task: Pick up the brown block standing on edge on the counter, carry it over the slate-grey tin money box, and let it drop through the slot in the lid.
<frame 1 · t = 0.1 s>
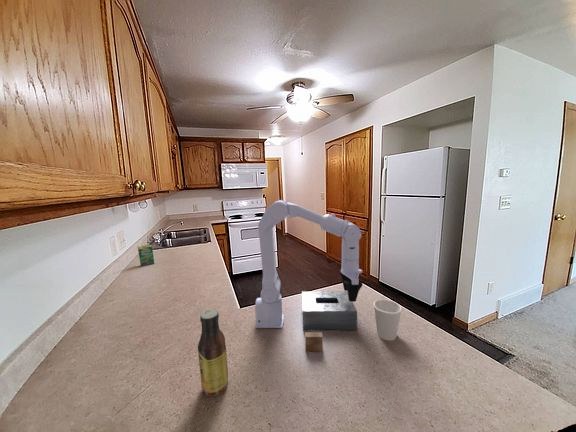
hand: (349, 295, 77), 10 cm above the counter, tool pointing down, fingers open, 7 cm apart
money box: (327, 318, 81), on the counter
dixie cup: (386, 335, 72), on the counter
coffee box: (147, 265, 147), on the counter
brown block: (313, 350, 66), on the counter
sauce bottle: (215, 388, 54), on the counter
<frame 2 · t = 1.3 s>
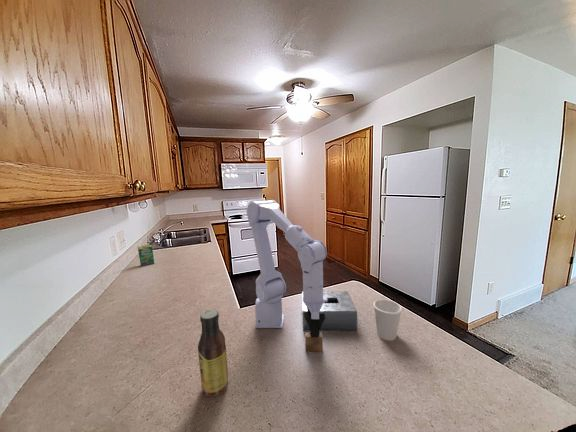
hand: (313, 327, 65), 7 cm above the counter, tool pointing down, fingers open, 7 cm apart
nothing on the counter moved.
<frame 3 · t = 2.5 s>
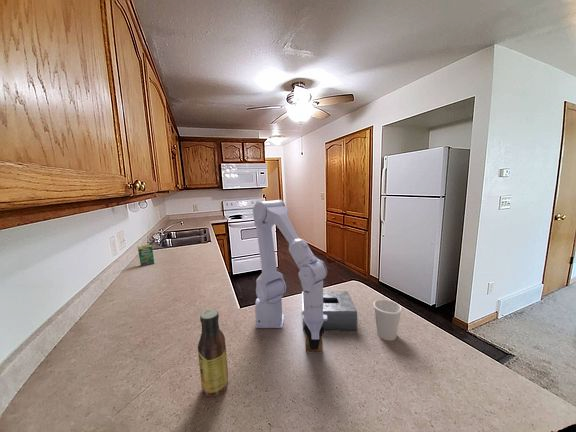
hand: (313, 345, 66), 1 cm above the counter, tool pointing down, fingers closed on brown block, 2 cm apart
brown block: (313, 349, 66), on the counter, touching gripper
everything else where it was.
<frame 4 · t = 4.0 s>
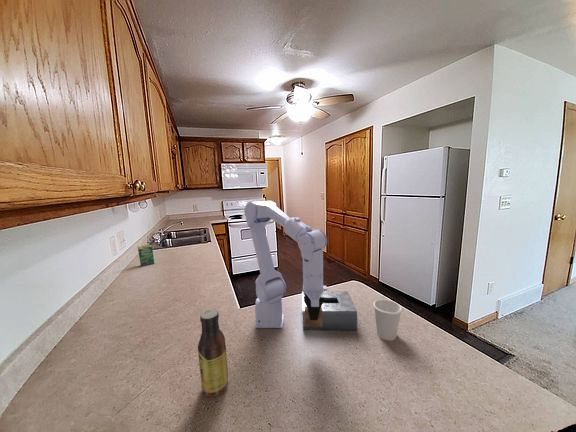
hand: (313, 317, 65), 10 cm above the counter, tool pointing down, fingers closed on brown block
brown block: (313, 324, 65), point 8 cm above the counter, touching gripper
everything else where it was.
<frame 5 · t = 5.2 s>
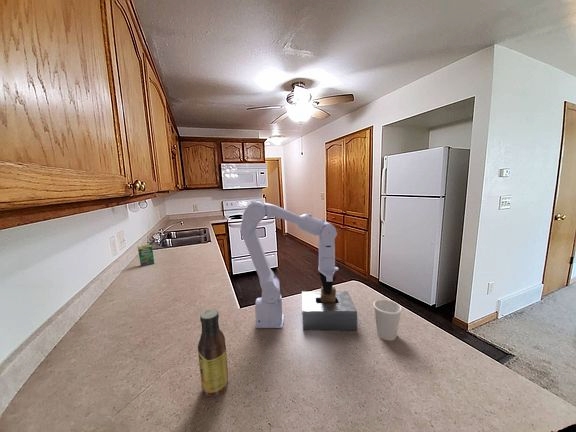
hand: (326, 292, 80), 10 cm above the counter, tool pointing down, fingers closed on brown block
brown block: (327, 301, 80), point 7 cm above the counter, touching gripper
everything else where it was.
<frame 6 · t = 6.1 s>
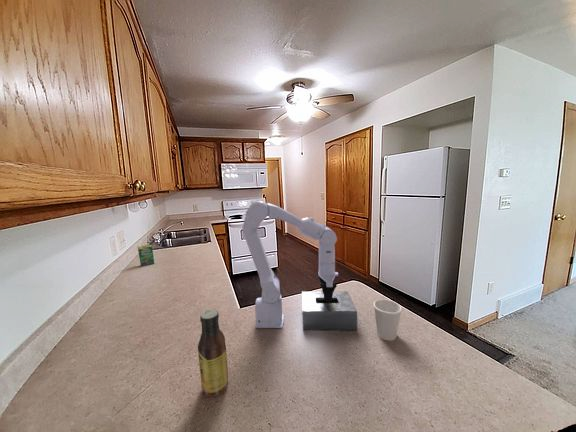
hand: (326, 297, 80), 8 cm above the counter, tool pointing down, fingers open, 5 cm apart
brown block: (326, 317, 81), resting on money box
everything else where it was.
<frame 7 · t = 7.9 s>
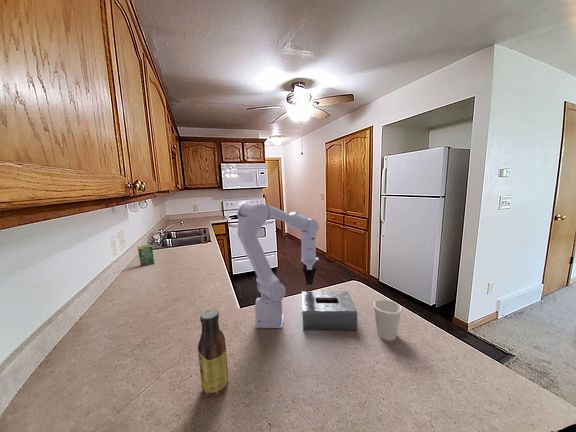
hand: (309, 280, 90), 10 cm above the counter, tool pointing down, fingers open, 7 cm apart
nothing on the counter moved.
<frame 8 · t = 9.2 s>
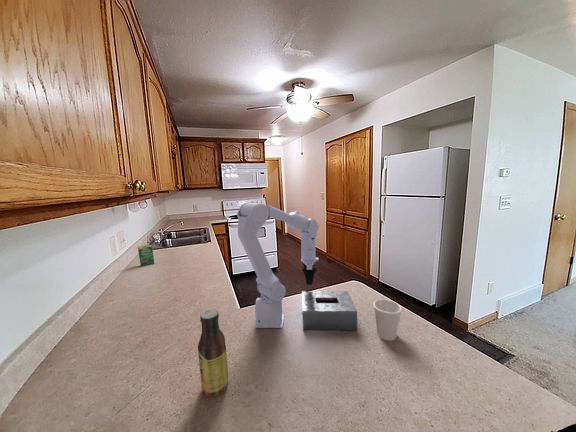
hand: (308, 280, 90), 10 cm above the counter, tool pointing down, fingers open, 7 cm apart
nothing on the counter moved.
at the end: brown block inside the target area on the money box (0.1 cm from its centre), point 0.4 cm above the money box's base; the gripper is holding nothing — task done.
